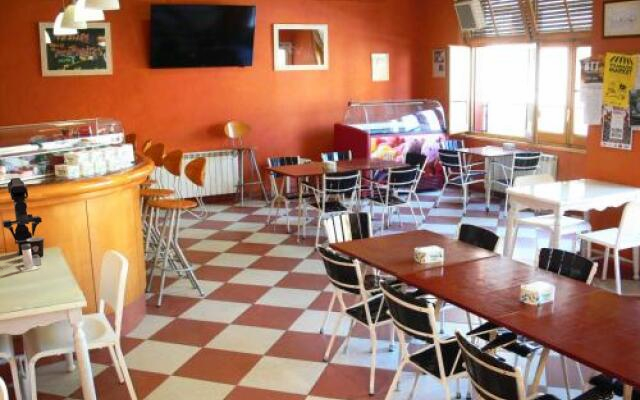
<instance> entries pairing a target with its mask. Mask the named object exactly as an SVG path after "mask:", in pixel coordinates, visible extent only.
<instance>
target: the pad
mask: <svg viewBox="0 0 640 400" xmlns="http://www.w3.org/2000/svg"><path fill="white" fill-rule="evenodd" d="M19 269H20V270H21V272H22V273H26V272H32V271H36V270H37V271H38V270H39V268H38V266H33V268H32V269H28V270H26V269H25V267H20V268H19Z"/></svg>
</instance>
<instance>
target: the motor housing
mask: <svg viewBox="0 0 640 400" xmlns="http://www.w3.org/2000/svg"><path fill="white" fill-rule="evenodd" d="M21 259H22V263H23V266H24V259H23V256H22V258H21ZM32 262H33V266H36V267H38V266H42V257H40V256H39V255H38V254H37V255H32Z"/></svg>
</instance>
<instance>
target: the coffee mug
mask: <svg viewBox="0 0 640 400" xmlns="http://www.w3.org/2000/svg"><path fill="white" fill-rule="evenodd" d="M44 241H45V240H44V237H43V236H41V237H40V236H38V237H32V238H30V239H27V243H24V242H23V243H21V244H30V246H31V255H37V254H38V255H39V256H40V257H41V258H43V257H44ZM21 244H20V248H21ZM21 249H22V248H21Z"/></svg>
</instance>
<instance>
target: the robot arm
mask: <svg viewBox="0 0 640 400" xmlns="http://www.w3.org/2000/svg"><path fill="white" fill-rule="evenodd" d="M21 179H22V178H20V177H15V178H14V177H12V178H10V181H9V182H8V183H7V192H8V194H9V195H10V198H11V201H13V207H14V209H13V210H14V214H15V215H14V216H15V220H11V219H6V220H2V221H1V225H2V227H3V228H6V229H8V230H9V231H10V233H11V236H12V237H13V239H14V243H15V245H17V249H18V251H17V252H16V253H17V254H18V255H23V252H22V249H21V248H22V246H21V248H20V244H21V243H23V242H24V243H27V239H30V238H33V237H34V235H35V232H36V228H37V226H38V225H40V223H43V221H42V217H41V216H39V215H34V216H33V214H32V213H29V214H28V210H27V208H28V205H27V203H26V199H28V197H29V191H28V188H27V187H26V186H25V182H24V181H23V180H21ZM30 223H31V231H30V230H29V227H28V226H27V225H29V224H30ZM13 225H16V227H15V229H14V227H13ZM21 245H23V244H21Z"/></svg>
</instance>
